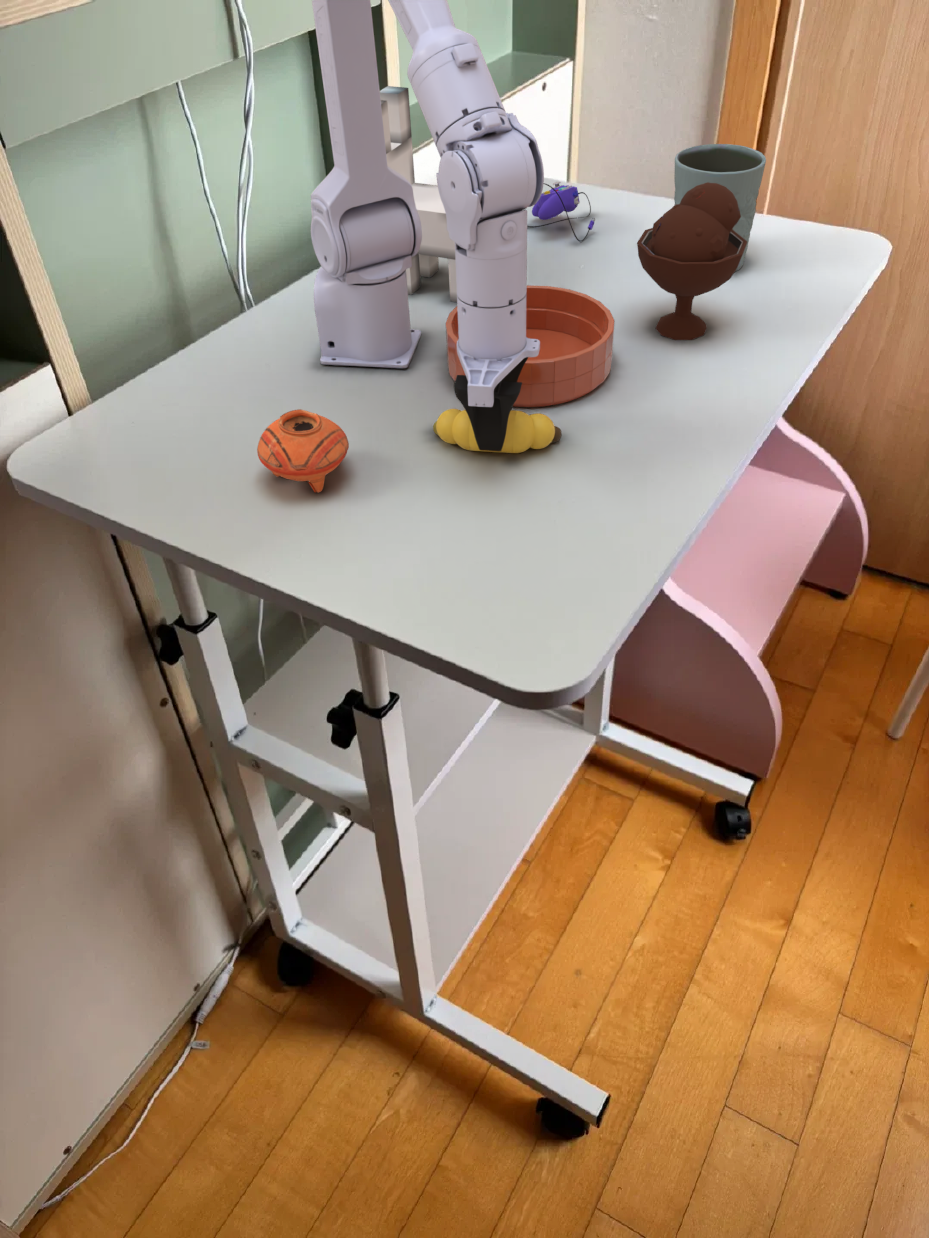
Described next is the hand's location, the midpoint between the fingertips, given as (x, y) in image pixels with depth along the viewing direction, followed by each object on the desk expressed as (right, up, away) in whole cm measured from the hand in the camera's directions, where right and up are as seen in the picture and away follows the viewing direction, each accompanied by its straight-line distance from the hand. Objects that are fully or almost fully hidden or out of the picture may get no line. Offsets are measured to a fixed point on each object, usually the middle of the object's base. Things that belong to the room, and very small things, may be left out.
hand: (493, 435), depth 88 cm
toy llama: (-6, +23, +27) cm, 37 cm away
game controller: (+10, +34, +38) cm, 53 cm away
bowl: (+4, +9, +12) cm, 16 cm away
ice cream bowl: (+21, +15, +17) cm, 31 cm away
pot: (-17, -4, -1) cm, 17 cm away
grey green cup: (+27, +27, +29) cm, 48 cm away
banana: (0, -1, +1) cm, 1 cm away
